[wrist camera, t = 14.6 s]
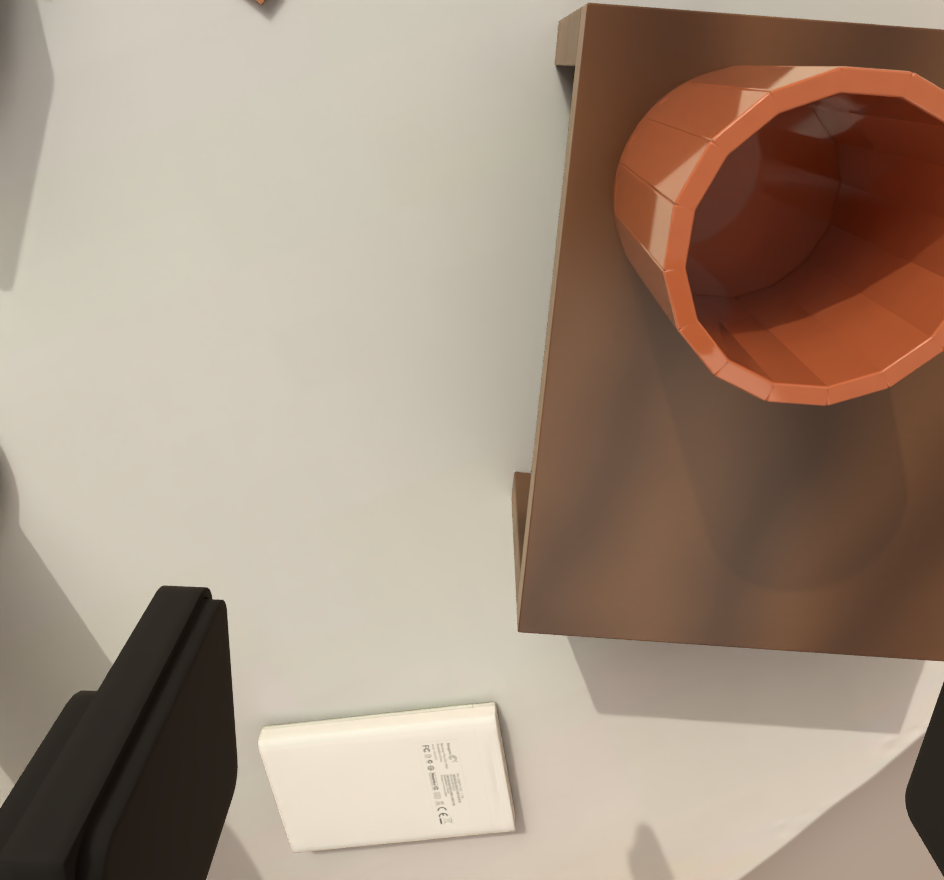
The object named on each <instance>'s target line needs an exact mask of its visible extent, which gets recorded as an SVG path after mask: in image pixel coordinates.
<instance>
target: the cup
mask: <svg viewBox="0 0 944 880" xmlns="http://www.w3.org/2000/svg"><path fill="white" fill-rule="evenodd" d="M613 212H614V220H615V225H616V230H617V233H618V236H619V239H620V242H621V245H622V247H623V250H624V254H625V255H626V258H627V259H628V261H629V262H630V263H631V265H632V266H633V268H634V269H635V271H636V272H637V273H638V275H639V276H640V278H641V279H642V281H643V282H644V283H645V285H646V286H647V288H648V289H649V291H650V292H651V293H652V295H653V296H654V298H655V299H656V301H657V302H658V303H659V305H660V306H661V308H662V309H663V311H664V312H665V313H666V315H667V316H668V318H669V319H670V321H671V322H672V323H673V325H674V326H675V328H676V329H677V331H678V332H679V333H680V335H681V336H682V337H683V338H684V340H685V341H686V342H687V343H688V345H689V346H690V347H691V348H692V350H693V351H694V352H695V353H696V355H697V356H698V357H699V358H700V360H701V361H702V362H703V363H704V365H705V366H706V367H707V368H708V370H709V371H710V372H711V373H712V374H713V375H715V377H717V378H719V379H721V380H723V381H725V382H727V383H729V384H731V385H733V386H735V387H737V388H739V389H741V390H743V391H745V392H747V393H749V394H751V395H753V396H755V397H757V398H759V399H761V400H763V401H767V402H776V403H790V404H804V405H818V406H826V405H832V404H836V403H839V402H843V401H846V400H850V399H853V398H857V397H860V396H864V395H867V394H871V393H874V392H878V391H881V390H885V389H887V388H888V387H892V386H893V385H895V384H896V383H897V382H899V381H900V380H902V379H903V378H905V377H906V376H908V375H909V374H911V373H912V372H914V371H915V370H916V369H918V368H919V367H921V366H922V365H924V364H925V363H927V362H928V361H930V360H931V359H932V358H934V357H935V356H937V355H938V354H940V353H941V352H943V351H944V90H943V89H941V88H939V87H938V86H936V85H934V84H933V83H931V82H929V81H928V80H926V79H924V78H923V77H921V76H919V75H918V74H916V73H912V72H910V71H900V70H887V69H874V68H861V67H847V66H746V65H736V66H731V67H728V68H725V69H719V70H716V71H712V72H709V73H705V74H702V75H700V76H698V77H695V78H693V79H691V80H689V81H687V82H685V83H683V84H682V85H680V86H678V87H677V88H675V89H673V90H672V91H671V92H669V93H668V94H667V95H666V96H664V97H663V98H662V99H660V100H659V101H658V102H657V103H656V104H655V105H654V106H653V107H652V108H651V109H650V110H649V111H648V112H647V114H646V115H645V116H644V117H643V119H642V120H641V121H640V122H639V124H638V125H637V127H636V128H635V130H634V131H633V133H632V135H631V136H630V138H629V140H628V142H627V144H626V146H625V148H624V150H623V153H622V155H621V158H620V161H619V164H618V167H617V171H616V176H615V182H614V190H613Z"/></svg>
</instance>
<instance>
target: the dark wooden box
mask: <svg viewBox="0 0 944 880" xmlns="http://www.w3.org/2000/svg"><path fill="white" fill-rule="evenodd" d="M555 65H561V66H574V67H575V74H574V83H573V93H572V102H571V111H570V120H569V129H568V139H567V148H566V157H565V166H564V176H563V185H562V194H561V203H560V212H559V222H558V231H557V240H556V249H555V259H554V268H553V277H552V286H551V296H550V305H549V314H548V323H547V332H546V342H545V351H544V360H543V369H542V379H541V388H540V397H539V406H538V415H537V425H536V434H535V443H534V452H533V462H532V471H531V473H522V472H515V473H514V480H513V490H512V518H513V539H514V559H515V580H516V601H517V625H518V632H524V633H538V634H553V635H567V636H582V637H596V638H611V639H626V640H640V641H655V642H669V643H684V644H698V645H713V646H728V647H742V648H757V649H771V650H786V651H800V652H815V653H830V654H844V655H859V656H873V657H888V658H903V659H917V660H932V661H944V351H943V352H941V353H940V354H938V355H937V356H935V357H934V358H932V359H931V360H930V361H928V362H927V363H925V364H924V365H922V366H921V367H919V368H918V369H916V370H915V371H914V372H912V373H911V374H909V375H908V376H906V377H905V378H903V379H902V380H900V381H899V382H897V383H896V384H895V385H893V386H892V387H888V388H887V389H885V390H881V391H878V392H874V393H871V394H867V395H864V396H860V397H857V398H853V399H850V400H846V401H843V402H839V403H836V404H832V405H826V406H818V405H804V404H790V403H776V402H767V401H763V400H761V399H759V398H757V397H755V396H753V395H751V394H749V393H747V392H745V391H743V390H741V389H739V388H737V387H735V386H733V385H731V384H729V383H727V382H725V381H723V380H721V379H719V378H717V377H715V375H713V374H712V373H711V372H710V371H709V370H708V368H707V367H706V366H705V365H704V363H703V362H702V361H701V360H700V358H699V357H698V356H697V355H696V353H695V352H694V351H693V350H692V348H691V347H690V346H689V345H688V343H687V342H686V341H685V340H684V338H683V337H682V336H681V335H680V333H679V332H678V331H677V329H676V328H675V326H674V325H673V323H672V322H671V321H670V319H669V318H668V316H667V315H666V313H665V312H664V311H663V309H662V308H661V306H660V305H659V303H658V302H657V301H656V299H655V298H654V296H653V295H652V293H651V292H650V291H649V289H648V288H647V286H646V285H645V283H644V282H643V281H642V279H641V278H640V276H639V275H638V273H637V272H636V271H635V269H634V268H633V266H632V265H631V263H630V262H629V261H628V259H627V258H626V255H625V254H624V250H623V247H622V245H621V242H620V239H619V236H618V233H617V230H616V225H615V220H614V212H613V190H614V182H615V176H616V171H617V167H618V164H619V161H620V158H621V155H622V153H623V150H624V148H625V146H626V144H627V142H628V140H629V138H630V136H631V135H632V133H633V131H634V130H635V128H636V127H637V125H638V124H639V122H640V121H641V120H642V119H643V117H644V116H645V115H646V114H647V112H648V111H649V110H650V109H651V108H652V107H653V106H654V105H655V104H656V103H657V102H658V101H659V100H660V99H662V98H663V97H664V96H666V95H667V94H668V93H669V92H671V91H672V90H673V89H675V88H677V87H678V86H680V85H682V84H683V83H685V82H687V81H689V80H691V79H693V78H695V77H698V76H700V75H702V74H705V73H709V72H712V71H716V70H719V69H725V68H728V67H731V66H736V65H746V66H847V67H861V68H874V69H887V70H900V71H910V72H912V73H916V74H918V75H919V76H921V77H923V78H924V79H926V80H928V81H929V82H931V83H933V84H934V85H936V86H938V87H939V88H941V89H943V90H944V30H941V29H928V28H915V27H901V26H888V25H875V24H862V23H849V22H836V21H822V20H809V19H796V18H783V17H770V16H756V15H743V14H730V13H717V12H704V11H690V10H677V9H664V8H651V7H638V6H625V5H611V4H598V3H587V4H586V5H584V6H583V7H581V8H580V9H578V10H576V11H575V12H573V13H571V14H570V15H568V16H567V17H565V18H563V19H562V20H560V21H559V25H558V36H557V46H556V56H555Z"/></svg>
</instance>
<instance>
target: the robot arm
mask: <svg viewBox="0 0 944 880" xmlns="http://www.w3.org/2000/svg"><path fill="white" fill-rule="evenodd" d="M237 768H238V766H237V748H236V734H235V720H234V705H233V691H232V677H231V663H230V649H229V634H228V620H227V608H226V604H225V601H223V600H212V594H211V592H210V590H209V589H208V588H205V587H183V586H162V587H160V588H159V589H158V591H157V592H156V594H155V595H154V597H153V599H152V600H151V602H150V604H149V605H148V607H147V609H146V610H145V612H144V614H143V615H142V617H141V619H140V621H139V622H138V624H137V626H136V627H135V629H134V631H133V632H132V634H131V636H130V637H129V639H128V641H127V642H126V644H125V646H124V647H123V649H122V651H121V652H120V654H119V656H118V657H117V659H116V661H115V662H114V664H113V666H112V667H111V669H110V671H109V672H108V674H107V676H106V677H105V679H104V681H103V683H102V684H101V686H100V688H99V689H98V691H80V692H78V693H76V694H74V695H73V697H72V698H71V699H70V700H69V702H68V703H67V704H66V705H65V707H64V709H63V710H62V712H61V713H60V715H59V717H58V718H57V720H56V721H55V723H54V724H53V726H52V728H51V729H50V731H49V732H48V734H47V735H46V737H45V739H44V740H43V742H42V743H41V745H40V747H39V748H38V750H37V751H36V753H35V754H34V756H33V758H32V759H31V761H30V762H29V764H28V765H27V767H26V769H25V770H24V772H23V773H22V775H21V777H20V778H19V780H18V781H17V783H16V784H15V786H14V788H13V789H12V791H11V792H10V794H9V795H8V797H7V799H6V800H5V802H4V803H3V805H2V807H1V808H0V880H206V878H207V875H208V872H209V868H210V865H211V862H212V859H213V856H214V853H215V850H216V847H217V844H218V841H219V838H220V834H221V831H222V828H223V825H224V822H225V819H226V816H227V813H228V810H229V807H230V804H231V800H232V797H233V794H234V790H235V785H236V779H237ZM905 802H906V809H907V812H908V816H909V818H910V820H911V822H912V824H913V825H914V827H915V829H916V831H917V832H918V834H919V836H920V837H921V839H922V841H923V842H924V844H925V846H926V847H927V849H928V851H929V853H930V854H931V856H932V858H933V859H934V861H935V863H936V864H937V866H938V868H939V869H940V871H941V873H942V875H943V876H944V683H943V686H942V688H941V691H940V694H939V697H938V700H937V703H936V706H935V708H934V711H933V714H932V717H931V720H930V723H929V726H928V728H927V731H926V734H925V737H924V740H923V743H922V746H921V748H920V751H919V754H918V757H917V760H916V763H915V766H914V768H913V771H912V774H911V777H910V780H909V783H908V786H907V789H906V795H905Z"/></svg>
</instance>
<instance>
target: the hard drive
mask: <svg viewBox="0 0 944 880" xmlns="http://www.w3.org/2000/svg"><path fill="white" fill-rule="evenodd" d="M258 747H259V751H260V755H261V758H262V761H263V764H264V767H265V770H266V773H267V776H268V779H269V782H270V785H271V788H272V791H273V795H274V798H275V801H276V804H277V807H278V810H279V813H280V816H281V819H282V822H283V825H284V829H285V831H286V835H287V838H288V841H289V844H290V846H291V849H292V851H293V852H294V853H298V852H307V851H319V850H329V849H339V848H348V847H358V846H369V845H379V844H389V843H399V842H409V841H419V840H429V839H440V838H450V837H459V836H470V835H479V834H489V833H501V832H511V831H516V827H515V811H514V805H513V799H512V793H511V787H510V782H509V776H508V770H507V764H506V759H505V753H504V747H503V742H502V736H501V730H500V725H499V719H498V714H497V708H496V704H495V702H489V703H480V704H466V705H457V706H447V707H437V708H428V709H419V710H409V711H401V712H391V713H382V714H373V715H363V716H354V717H345V718H336V719H327V720H318V721H308V722H298V723H288V724H278V725H270V726H264V727H263V729H262V730H261V734H260V736H259V739H258Z"/></svg>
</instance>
